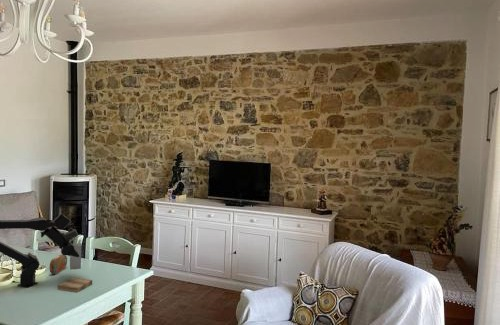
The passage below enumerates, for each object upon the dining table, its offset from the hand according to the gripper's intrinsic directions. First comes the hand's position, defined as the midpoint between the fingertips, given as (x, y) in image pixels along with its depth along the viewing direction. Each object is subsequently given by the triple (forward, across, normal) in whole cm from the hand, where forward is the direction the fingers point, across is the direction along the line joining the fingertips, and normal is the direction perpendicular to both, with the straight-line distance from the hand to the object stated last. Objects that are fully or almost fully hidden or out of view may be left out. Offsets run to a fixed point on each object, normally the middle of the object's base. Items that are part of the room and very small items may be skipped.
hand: (78, 255), depth 205 cm
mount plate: (+8, -11, +10) cm, 17 cm away
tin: (+3, +16, +16) cm, 22 cm away
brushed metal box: (+4, 0, +6) cm, 7 cm away
